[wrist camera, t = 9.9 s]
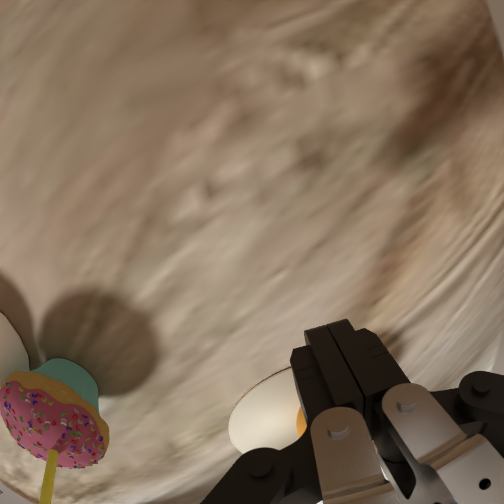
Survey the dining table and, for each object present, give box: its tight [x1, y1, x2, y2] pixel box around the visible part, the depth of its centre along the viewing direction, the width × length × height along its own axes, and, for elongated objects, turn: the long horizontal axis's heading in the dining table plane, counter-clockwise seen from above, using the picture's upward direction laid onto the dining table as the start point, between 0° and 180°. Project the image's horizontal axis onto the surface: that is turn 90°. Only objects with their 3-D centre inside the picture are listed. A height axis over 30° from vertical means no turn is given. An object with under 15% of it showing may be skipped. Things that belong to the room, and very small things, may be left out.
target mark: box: [228, 368, 301, 454], centre depth 23 cm, size 14×14×1 cm
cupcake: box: [0, 358, 109, 504], centre depth 14 cm, size 9×8×12 cm
